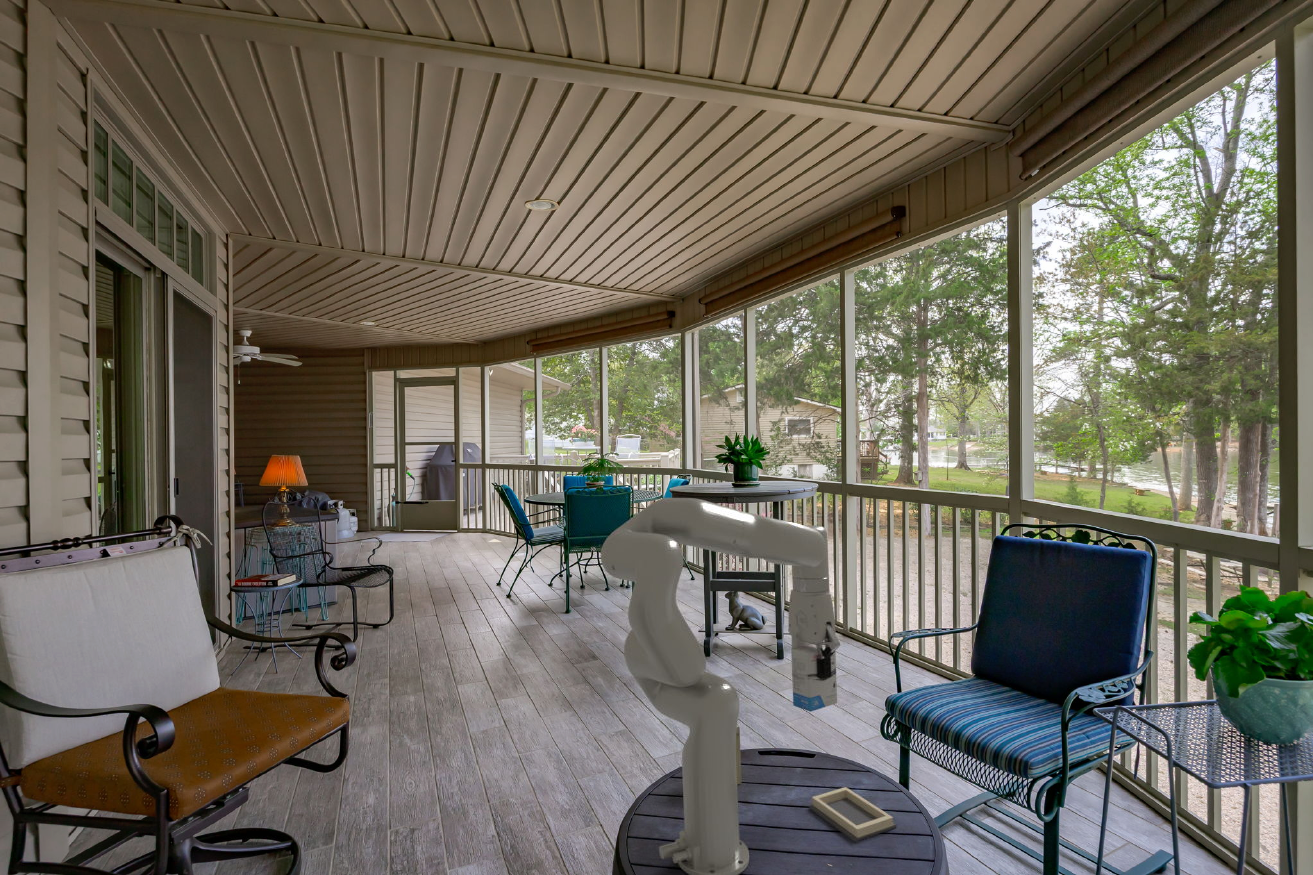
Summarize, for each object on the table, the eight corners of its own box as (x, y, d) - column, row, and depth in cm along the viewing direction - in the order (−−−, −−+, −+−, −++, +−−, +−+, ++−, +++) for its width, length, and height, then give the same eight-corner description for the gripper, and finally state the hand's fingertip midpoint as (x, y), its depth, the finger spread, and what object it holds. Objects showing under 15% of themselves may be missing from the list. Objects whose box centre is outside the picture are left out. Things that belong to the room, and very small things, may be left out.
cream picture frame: (854, 841, 115) (854, 830, 115) (809, 808, 127) (808, 797, 127) (896, 827, 119) (896, 816, 119) (849, 796, 131) (848, 786, 131)
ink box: (811, 712, 128) (807, 638, 129) (792, 706, 132) (789, 633, 133) (838, 703, 133) (835, 631, 134) (820, 696, 137) (816, 627, 138)
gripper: (771, 581, 140) (774, 665, 139) (824, 593, 124) (828, 688, 123) (798, 578, 143) (802, 660, 142) (853, 589, 128) (857, 681, 127)
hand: (814, 672), depth 133 cm, fingers closed on ink box, 5 cm apart
